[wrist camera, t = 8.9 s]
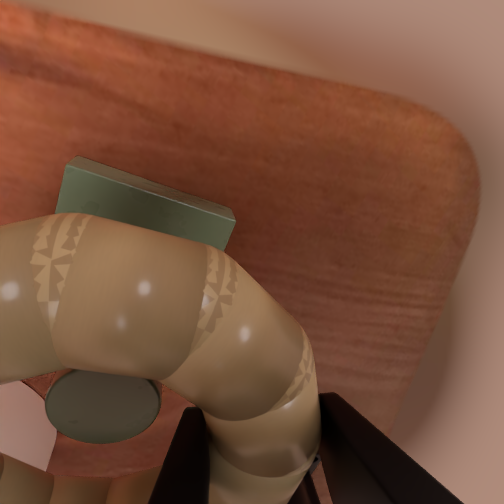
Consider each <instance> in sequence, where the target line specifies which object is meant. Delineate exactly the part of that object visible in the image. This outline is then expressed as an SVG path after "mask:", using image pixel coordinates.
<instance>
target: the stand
mask: <svg viewBox="0 0 504 504" xmlns="http://www.w3.org/2000/svg"><path fill="white" fill-rule="evenodd" d="M70 212H72V213H85V214H90V215H95V216H99V217H103V218H107V219H111V220H115V221H119V222H123V223H127V224H130V225H134V226H138V227H142V228H146V229H150V230H154V231H158V232H162V233H166V234H169V235H173V236H177V237H181V238H185V239H189V240H193V241H197V242H201V243H204V244H207V245H211V246H213V247H215V248H217V249H219V250H221V251H223V252H224V250H225V247H226V245H227V242H228V240H229V238H230V235H231V233H232V231H233V228H234V226H235V223H236V219H235V217H234V215H233V212H232V210H231V208H229V207H226V206H223V205H220V204H217V203H214V202H211V201H208V200H205V199H203V198H200V197H197V196H194V195H191V194H188V193H185V192H182V191H179V190H176V189H174V188H171V187H168V186H165V185H162V184H159V183H156V182H153V181H150V180H147V179H145V178H142V177H139V176H136V175H133V174H130V173H127V172H124V171H121V170H119V169H116V168H113V167H110V166H107V165H104V164H101V163H98V162H95V161H92V160H90V159H87V158H84V157H81V156H76V157H74V158H73V159H72V160H71V161H70V162H68V163H67V164H66V166H65V170H64V174H63V179H62V183H61V188H60V192H59V196H58V201H57V205H56V209H55V214H59V213H70ZM161 402H162V383H161V382H159V381H158V380H152V379H144V378H137V377H130V376H122V375H115V374H108V373H100V372H93V371H86V370H78V369H71V368H68V369H64V370H60V371H56V372H55V374H54V377H53V379H52V382H51V384H50V387H49V389H48V392H47V394H46V397H45V411H46V415H47V417H48V419H49V421H50V423H51V424H52V425H53V426H54V427H55V428H56V429H57V430H58V431H59V432H61V433H62V434H64V435H65V436H67V437H70V438H72V439H75V440H77V441H81V442H86V443H94V444H107V443H115V442H120V441H123V440H127V439H129V438H132V437H134V436H136V435H138V434H140V433H141V432H143V431H144V430H145V429H147V428H148V427H149V426H150V425H151V424H152V423H153V421H154V420H155V419H156V417H157V415H158V413H159V411H160V408H161Z"/></svg>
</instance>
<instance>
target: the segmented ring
mask: <svg viewBox="0 0 504 504" xmlns="http://www.w3.org/2000/svg"><path fill="white" fill-rule="evenodd" d="M68 368H71V369H78V370H86V371H93V372H100V373H108V374H115V375H122V376H130V377H137V378H144V379H152V380H158V381H159V382H161V383H162V384H164V385H165V386H167V387H168V388H170V389H171V390H173V391H174V392H176V393H177V394H179V395H180V396H182V397H183V398H185V399H187V400H188V401H190V402H191V403H193V404H194V405H196V406H197V407H199V408H200V409H202V412H203V415H204V418H205V421H206V425H207V434H208V443H209V453H210V488H209V504H288V502H289V500H290V499H291V497H292V495H293V494H294V492H295V490H296V489H297V487H298V486H299V484H300V482H301V481H302V479H303V477H304V476H305V474H306V472H307V471H308V469H309V468H310V466H311V464H312V463H313V461H314V459H315V456H316V454H317V451H318V449H319V446H320V441H321V435H322V421H321V412H320V404H319V396H318V387H317V379H316V371H315V362H314V355H313V350H312V347H311V344H310V341H309V339H308V337H307V335H306V333H305V331H304V330H303V328H302V327H301V325H300V324H299V323H298V322H297V321H296V320H295V319H294V318H293V317H292V316H291V315H290V314H289V313H288V312H287V311H286V310H285V309H284V308H283V307H282V306H281V305H280V304H279V303H278V302H277V301H276V300H275V299H274V298H273V297H272V296H271V295H270V294H269V293H268V292H267V291H266V290H265V289H264V288H262V287H261V286H260V285H259V284H258V283H257V282H256V281H255V280H254V279H253V278H252V277H251V276H250V275H249V274H248V273H247V272H246V271H245V270H244V269H243V268H242V267H241V266H240V265H239V264H238V263H237V262H236V261H235V260H233V259H232V258H231V257H230V256H228V255H227V254H226V253H224V252H223V251H221V250H219V249H217V248H215V247H213V246H211V245H207V244H204V243H201V242H197V241H193V240H189V239H185V238H181V237H177V236H173V235H169V234H166V233H162V232H158V231H154V230H150V229H146V228H142V227H138V226H134V225H130V224H127V223H123V222H119V221H115V220H111V219H107V218H103V217H99V216H95V215H90V214H85V213H72V212H70V213H59V214H52V215H46V216H42V217H37V218H33V219H28V220H23V221H19V222H14V223H9V224H5V225H0V385H3V384H7V383H11V382H15V381H19V380H23V379H27V378H31V377H35V376H39V375H43V374H47V373H52V372H56V371H60V370H64V369H68ZM161 468H162V465H161V466H157V467H153V468H150V469H146V470H142V471H139V472H135V473H131V474H128V475H124V476H120V477H117V478H101V477H83V476H65V475H52V474H50V473H48V472H45V471H43V470H41V469H38V468H36V467H34V466H31V465H29V464H27V463H24V462H22V461H20V460H17V459H15V458H13V457H10V456H8V455H6V454H3V453H1V452H0V504H147V503H148V501H149V498H150V496H151V493H152V491H153V488H154V486H155V483H156V480H157V478H158V475H159V473H160V470H161Z"/></svg>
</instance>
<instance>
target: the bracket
mask: <svg viewBox="0 0 504 504" xmlns="http://www.w3.org/2000/svg"><path fill="white" fill-rule="evenodd" d="M56 435H57V429H56V428H55V427H54V426H53V425H52V424H51V423H50V421H49V419H48V417H47V415H46V411H45V401H44V400H43V399H42V398H41V397H40V396H39V395H38V394H37V393H36V392H35V391H34V390H32V389H31V388H30V387H28V386H27V385H26V384H24V383H22V382H21V381H15V382H11V383H7V384H3V385H0V452H1V453H3V454H6V455H8V456H10V457H13V458H15V459H17V460H20V461H22V462H24V463H27V464H29V465H31V466H34V467H36V468H38V469H41V470H43V471H45V472H46V469H47V466H48V463H49V460H50V457H51V454H52V451H53V448H54V445H55V441H56Z"/></svg>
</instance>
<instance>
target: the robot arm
mask: <svg viewBox="0 0 504 504" xmlns="http://www.w3.org/2000/svg"><path fill="white" fill-rule="evenodd" d="M318 396H319V404H320V412H321V421H322V435H321V441H320V446H319V449H318V451H317V454H316V456H315V459H314V461H313V463H312V464H311V466H310V468H309V469H308V471H307V472H306V474H305V476H304V477H303V479H302V481H301V482H300V484H299V486H298V487H297V489H296V490H295V492H294V494H293V495H292V497H291V499H290V500H289V502H288V504H321V503H320V500H319V497H318V495H317V492H316V489H315V486H314V483H313V480H312V477H311V474H312V473H313V471H314V470H315V468H316V467H317V465H318V464H319V462H320V461H321V462H322V466H323V469H324V473H325V477H326V481H327V485H328V489H329V492H330V496H331V499H332V502H333V504H464V503H463V502H462V501H460V500H459V499H458V498H457V497H456V496H455V495H453V494H452V493H451V492H450V491H449V490H448V489H446V488H445V487H444V486H443V485H442V484H441V483H440V482H438V481H437V480H436V479H435V478H434V477H432V475H430V474H429V473H428V472H427V471H426V470H425V469H423V468H422V467H421V466H420V465H419V464H418V463H416V462H415V461H414V460H413V459H412V458H411V457H409V456H408V455H407V454H406V453H405V452H404V451H403V450H401V449H400V448H399V447H398V446H397V445H396V444H395V443H393V442H392V441H391V440H390V439H389V438H388V437H386V436H385V435H384V434H383V433H382V432H381V431H380V430H378V429H377V428H376V427H375V426H374V425H373V424H371V423H370V422H369V421H368V420H367V419H366V418H365V417H363V416H362V415H361V414H360V413H359V412H358V411H356V410H355V409H354V408H353V407H352V406H351V405H350V404H348V403H347V402H346V401H345V400H344V399H343V398H341V397H340V396H339V395H338V394H336V393H334V392H330V393H320V394H318ZM209 488H210V453H209V443H208V434H207V425H206V421H205V418H204V415H203V412H202V409H200V408H199V407H197V406H196V407H188V408H186V409H185V410H184V412H183V414H182V417H181V419H180V422H179V424H178V427H177V430H176V432H175V435H174V437H173V440H172V442H171V445H170V447H169V450H168V452H167V455H166V458H165V460H164V463H163V465H162V468H161V470H160V473H159V475H158V478H157V480H156V483H155V486H154V488H153V491H152V493H151V496H150V498H149V501H148V503H147V504H209Z"/></svg>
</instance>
